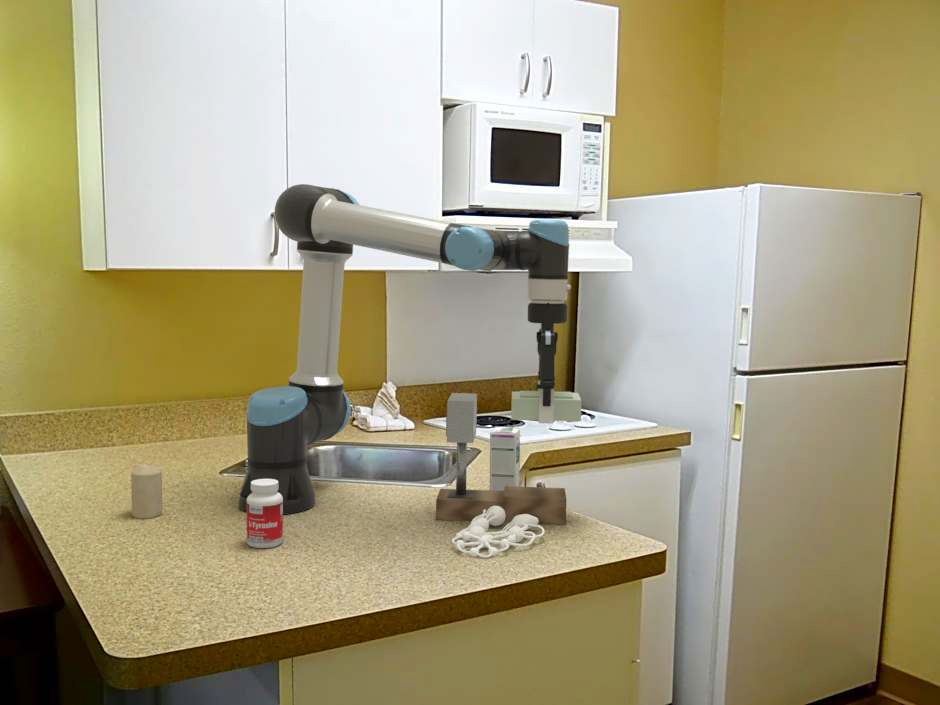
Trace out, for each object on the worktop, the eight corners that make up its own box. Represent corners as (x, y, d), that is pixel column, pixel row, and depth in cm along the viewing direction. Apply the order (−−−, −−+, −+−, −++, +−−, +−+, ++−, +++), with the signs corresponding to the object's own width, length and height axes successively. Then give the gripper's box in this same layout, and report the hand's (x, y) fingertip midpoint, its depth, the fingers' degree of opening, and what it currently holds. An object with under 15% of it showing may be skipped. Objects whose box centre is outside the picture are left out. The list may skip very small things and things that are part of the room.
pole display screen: (449, 486, 171) (450, 392, 169) (475, 487, 171) (477, 393, 169) (444, 500, 161) (446, 400, 159) (472, 501, 161) (473, 401, 159)
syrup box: (515, 500, 178) (517, 432, 176) (488, 498, 179) (489, 430, 177) (519, 493, 183) (521, 427, 182) (493, 491, 184) (494, 425, 183)
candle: (168, 512, 164) (167, 462, 163) (149, 520, 159) (148, 468, 158) (145, 509, 166) (144, 459, 165) (125, 517, 161) (124, 465, 160)
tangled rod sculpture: (504, 573, 139) (506, 550, 138) (431, 550, 146) (433, 528, 145) (554, 539, 155) (556, 517, 154) (486, 519, 162) (488, 499, 162)
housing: (435, 519, 163) (436, 494, 162) (440, 507, 171) (440, 483, 170) (565, 524, 161) (566, 499, 161) (563, 512, 169) (564, 488, 168)
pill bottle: (243, 549, 144) (243, 486, 143) (249, 538, 150) (249, 477, 149) (280, 549, 144) (280, 486, 143) (285, 537, 150) (285, 477, 149)
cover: (511, 419, 158) (511, 396, 157) (511, 411, 167) (512, 389, 167) (580, 421, 157) (581, 398, 157) (577, 412, 166) (578, 390, 166)
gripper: (570, 304, 149) (567, 429, 151) (564, 300, 171) (562, 409, 173) (528, 304, 149) (526, 428, 151) (527, 299, 171) (525, 408, 173)
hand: (545, 418), depth 162 cm, fingers closed on cover, 9 cm apart
